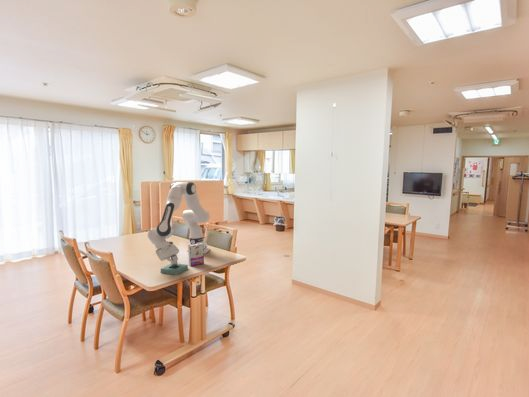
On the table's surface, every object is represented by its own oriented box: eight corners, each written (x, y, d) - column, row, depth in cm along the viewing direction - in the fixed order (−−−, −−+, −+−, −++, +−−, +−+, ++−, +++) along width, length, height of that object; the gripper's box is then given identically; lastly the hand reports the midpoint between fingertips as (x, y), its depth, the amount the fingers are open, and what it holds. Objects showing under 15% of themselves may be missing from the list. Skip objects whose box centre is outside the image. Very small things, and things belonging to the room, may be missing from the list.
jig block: (171, 266, 232) (171, 263, 231) (187, 268, 228) (187, 264, 227) (160, 272, 218) (160, 268, 218) (177, 274, 214) (177, 270, 214)
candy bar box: (201, 262, 243) (201, 242, 241) (204, 264, 239) (203, 244, 237) (188, 264, 237) (187, 244, 235) (190, 266, 232) (190, 246, 231)
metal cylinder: (173, 267, 226) (173, 255, 225) (178, 268, 224) (178, 255, 223) (170, 269, 221) (169, 256, 220) (175, 270, 220) (174, 257, 219)
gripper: (157, 247, 213) (169, 262, 211) (173, 241, 233) (184, 254, 231) (152, 253, 215) (163, 268, 213) (168, 246, 234) (180, 259, 233)
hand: (175, 260), depth 222 cm, fingers closed on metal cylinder, 4 cm apart
